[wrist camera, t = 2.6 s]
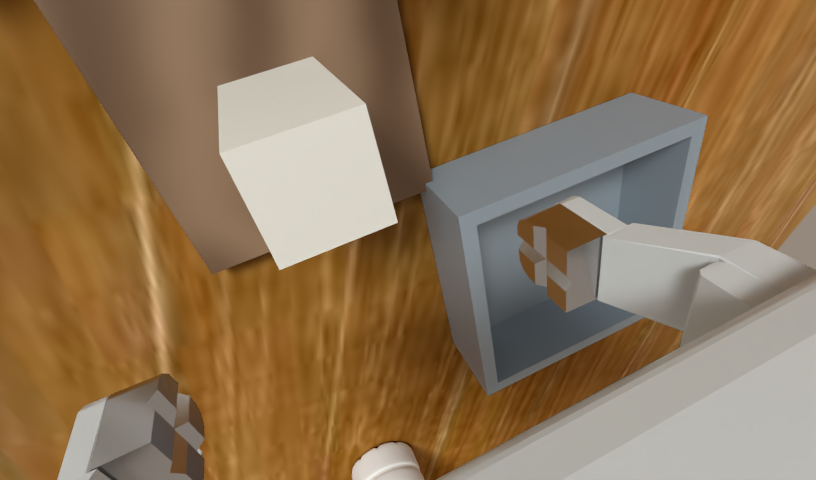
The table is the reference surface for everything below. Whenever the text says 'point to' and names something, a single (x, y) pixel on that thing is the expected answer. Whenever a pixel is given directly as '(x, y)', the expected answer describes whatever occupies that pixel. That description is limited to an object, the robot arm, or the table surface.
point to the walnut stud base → (225, 62)
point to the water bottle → (388, 464)
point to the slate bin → (537, 190)
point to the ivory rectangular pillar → (303, 159)
